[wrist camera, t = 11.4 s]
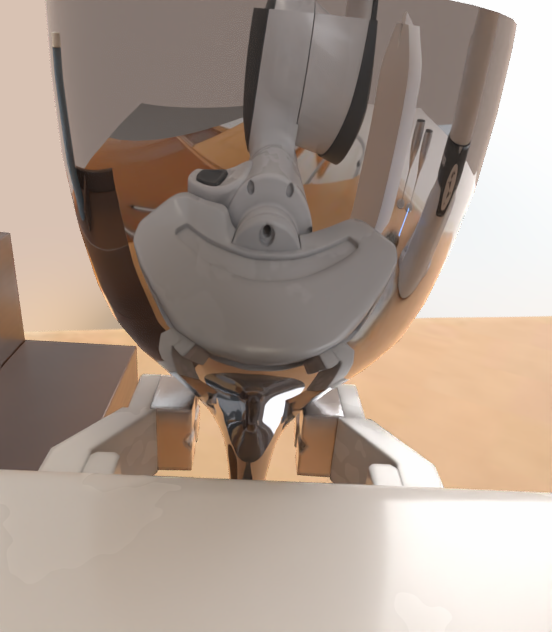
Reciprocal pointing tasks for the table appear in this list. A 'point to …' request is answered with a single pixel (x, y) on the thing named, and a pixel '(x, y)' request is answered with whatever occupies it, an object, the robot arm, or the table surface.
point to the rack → (51, 381)
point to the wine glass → (271, 182)
